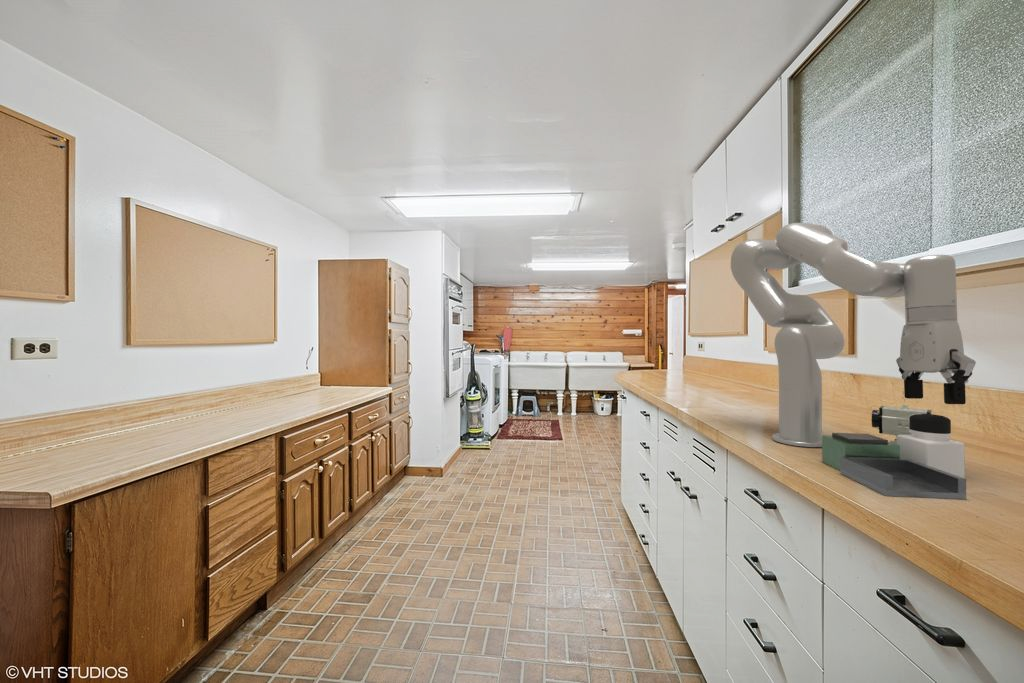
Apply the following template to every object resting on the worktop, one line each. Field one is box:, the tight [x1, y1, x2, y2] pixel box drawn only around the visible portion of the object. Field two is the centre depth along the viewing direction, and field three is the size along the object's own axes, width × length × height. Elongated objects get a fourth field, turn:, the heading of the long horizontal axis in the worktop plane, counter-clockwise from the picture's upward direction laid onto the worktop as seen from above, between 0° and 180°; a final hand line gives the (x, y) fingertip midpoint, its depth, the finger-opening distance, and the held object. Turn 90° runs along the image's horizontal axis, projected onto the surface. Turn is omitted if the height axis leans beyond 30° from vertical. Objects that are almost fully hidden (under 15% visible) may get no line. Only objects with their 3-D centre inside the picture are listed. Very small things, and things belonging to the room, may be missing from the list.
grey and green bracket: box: [821, 432, 967, 500], centre depth 83 cm, size 21×12×7 cm, turn 172°
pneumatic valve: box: [871, 403, 932, 444], centre depth 100 cm, size 6×12×12 cm, turn 43°
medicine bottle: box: [897, 413, 966, 478], centre depth 86 cm, size 7×7×12 cm
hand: (933, 401), depth 85 cm, fingers open, 9 cm apart
